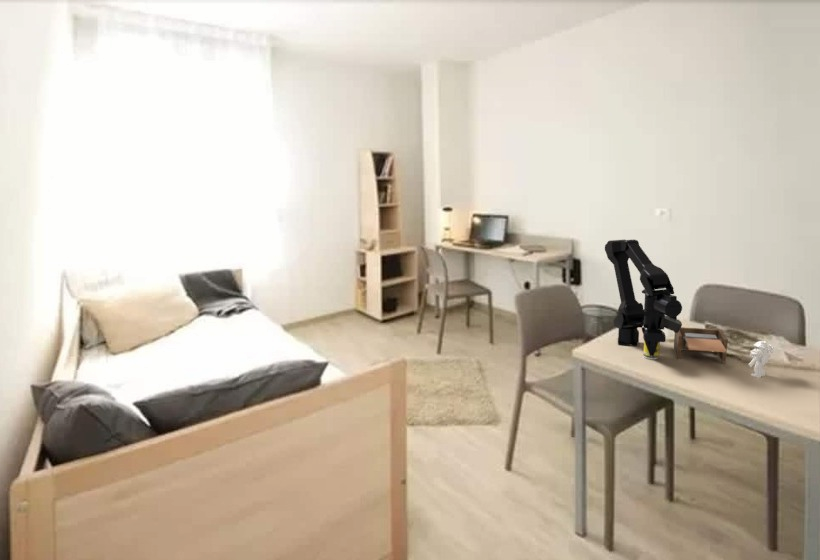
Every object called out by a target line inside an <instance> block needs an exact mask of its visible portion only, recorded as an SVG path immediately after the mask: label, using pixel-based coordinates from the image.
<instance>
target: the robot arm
mask: <svg viewBox="0 0 820 560" xmlns="http://www.w3.org/2000/svg"><path fill="white" fill-rule="evenodd" d="M639 243H640V242H639V241H638V240H637V239H612V240H608V241H607V242H606V243H605V245H604V252H605V254H606V256H607V257H606V258H607V260H609V261H610V262H611V264H613V269H614V274H615V279H616V282H617V288H618V293H619V299H620V304H619V306H618V309H617V316H616V317H615V318H614V319H613V326H614V327H615V328H617V329H618V333H617V345H619V346H620V345H622V346H634V347H637V346H638V344H639V342H640V341H639V340H640V339H639V338H640V332H639V331H640V330H639V329H640V328H641V332H642V334H643V336H642V337H643V342H644V341H645V343H646V346H647V349H648V351H649V354H650V355H651V356H653V355H654V353H655V350H656V347H657V345H658V343H659V342H660V343H666V340H667V339H666V338H667V336H666V333H665V332H664V331H663V330H665V329H667V330H669V331H673V333H675V332H676V333H678V332H679V330H680V328H681V327H682V326H683V322H682V321H681V320H680V319H678V318H677V317H679V315H680V314H681V313H682V310H683V305H682V303H681V302H680V301H679V300H678V298H677V296H676V295H674V294H675V290H674V289H675V288H674V287H673V285H672V282H671V280H670V277H669V275H668V273H667V272H666V271H665V270H663V269H662V268H661V267H660V266H657V265H655V264H654V263H653V262H652V261H651V259H650V258H649V257H648V255H647V254H646V253H645V251H644V250H643V249H642V247H641V245H640V244H639ZM629 259H630V261H631V262H632V264H634V267H636V269H637V271H638V272H639V274H640V275H639V281H640V283H641V285H642V286H643V289H642V290H641V293H642V294H644V304H643V302H640V303H639V302H638V301H637V299H636V296H635V290H634V286H633V281H632V277H631V271H630V266H629ZM638 328H639V329H638Z"/></svg>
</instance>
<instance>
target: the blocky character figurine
mask: <svg viewBox="0 0 820 560" xmlns="http://www.w3.org/2000/svg"><path fill="white" fill-rule="evenodd" d="M753 346H754V347H755V348H753V349H752V350H750V351H749V356H751V357H752V360H751V361H750V362H749V363H748V367H749V368H752V367H753V366H754V368H753V371H754V373H751V374H750V375H751V377H753V378H757V379H761V378H762V377H764V376H766V375H765V373H766V372H765V369H764V367H765V364H767V363H768V361H769V359H770V358H771V356H770V353H771V354H773V353H774V347H773V346H772V344H770V343H768V342H767V341H765V340H759V341H756V342H755V343H754V344H753Z"/></svg>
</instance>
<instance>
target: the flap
mask: <svg viewBox="0 0 820 560" xmlns="http://www.w3.org/2000/svg"><path fill="white" fill-rule="evenodd" d="M683 340H684V345H685V347H686V348H689V350H688V351H690V350H701V351H700V352H703V351H715V352H714V353H717V352H726V349H725V347H724V346H723V344H722V339H717V337H716V335H710V334H694V333H685V337H683Z"/></svg>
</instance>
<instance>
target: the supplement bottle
mask: <svg viewBox="0 0 820 560" xmlns="http://www.w3.org/2000/svg"><path fill="white" fill-rule="evenodd" d="M660 343H661V342H659V343H658V345H657V347H656V350H655V353H654V355H653V356H651V355H650V354H649V351H648V349H647V346H646V343H645V341H644V340H643V354H642V356H643V357H644V358H645V359H647V360H657V359H659V356H660Z"/></svg>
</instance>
